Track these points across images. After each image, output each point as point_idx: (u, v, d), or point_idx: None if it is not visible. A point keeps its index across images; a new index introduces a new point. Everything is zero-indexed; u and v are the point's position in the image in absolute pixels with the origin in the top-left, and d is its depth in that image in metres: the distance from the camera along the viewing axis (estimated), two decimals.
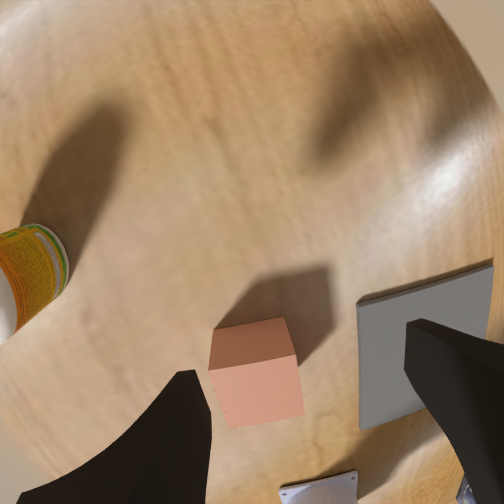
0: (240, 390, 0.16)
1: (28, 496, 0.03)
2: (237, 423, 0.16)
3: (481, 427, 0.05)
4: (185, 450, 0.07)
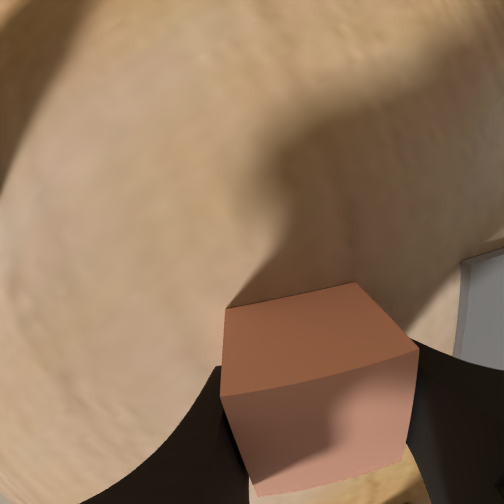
0: (292, 433, 0.07)
1: None
2: (275, 489, 0.07)
3: (440, 448, 0.05)
4: (234, 446, 0.07)
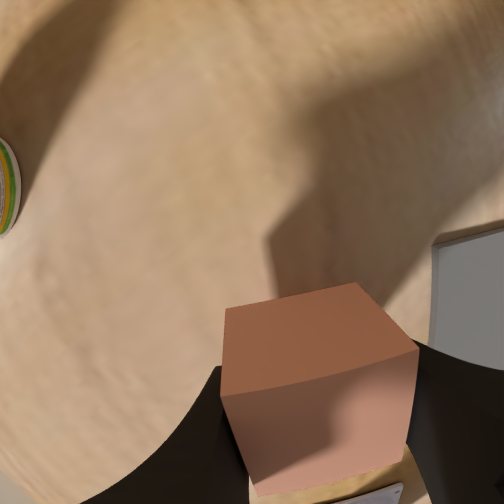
0: (292, 433, 0.07)
1: None
2: (276, 488, 0.07)
3: (440, 448, 0.05)
4: (234, 446, 0.07)
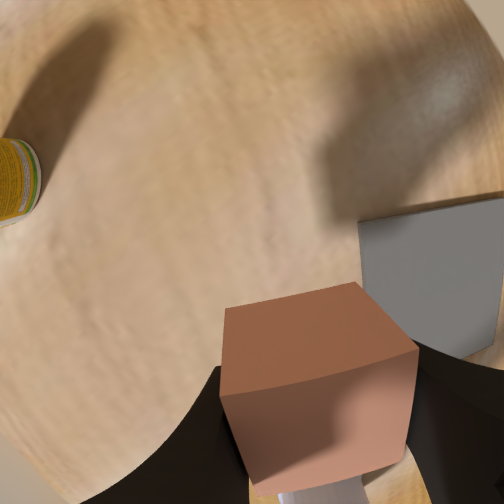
0: (292, 433, 0.07)
1: None
2: (275, 488, 0.07)
3: (440, 448, 0.05)
4: (234, 446, 0.07)
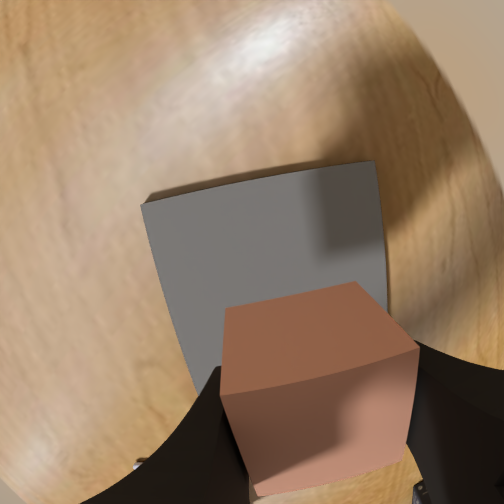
0: (292, 433, 0.07)
1: None
2: (275, 488, 0.07)
3: (440, 448, 0.05)
4: (234, 446, 0.07)
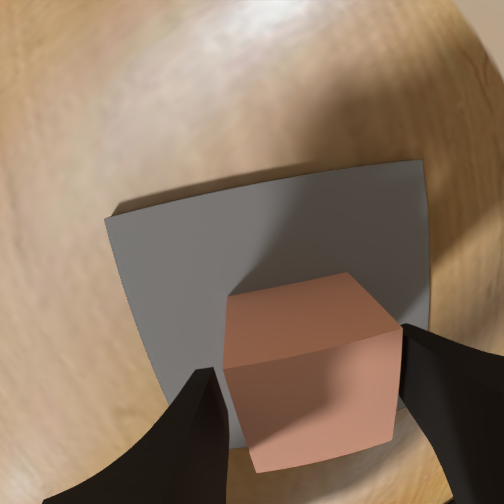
0: (287, 407, 0.08)
1: (52, 502, 0.03)
2: (273, 464, 0.08)
3: (463, 437, 0.05)
4: (208, 448, 0.07)
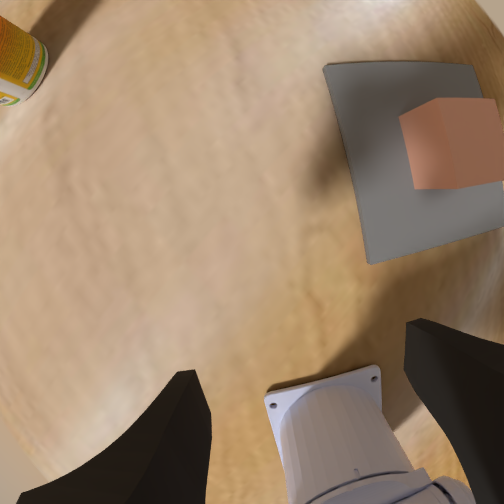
0: (464, 128, 0.12)
1: (28, 495, 0.03)
2: (464, 180, 0.12)
3: (481, 427, 0.05)
4: (185, 450, 0.07)
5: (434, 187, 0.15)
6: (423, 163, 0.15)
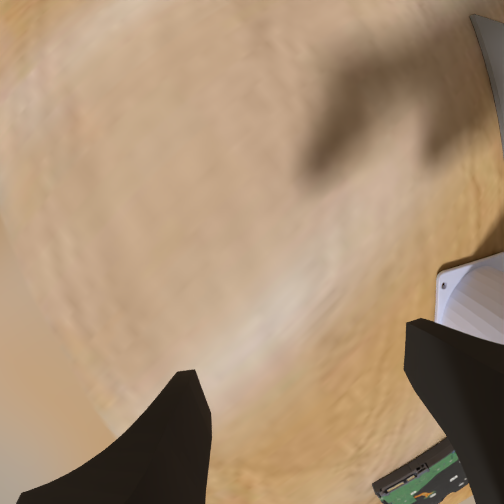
0: None
1: (28, 495, 0.03)
2: None
3: (481, 427, 0.05)
4: (185, 450, 0.07)
5: None
6: None
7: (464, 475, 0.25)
